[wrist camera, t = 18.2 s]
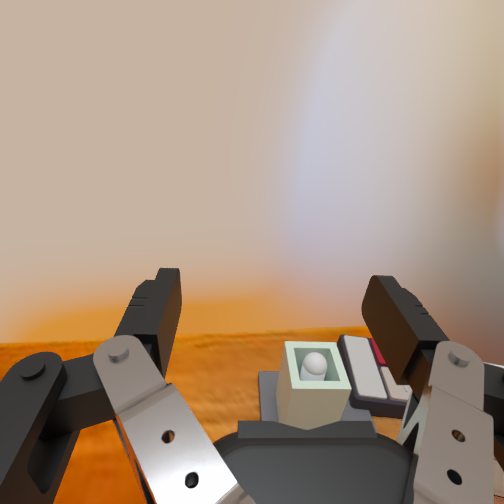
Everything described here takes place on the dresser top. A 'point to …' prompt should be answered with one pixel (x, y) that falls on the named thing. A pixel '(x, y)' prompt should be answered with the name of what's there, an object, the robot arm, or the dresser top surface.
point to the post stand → (310, 371)
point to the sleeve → (311, 387)
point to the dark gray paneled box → (371, 378)
